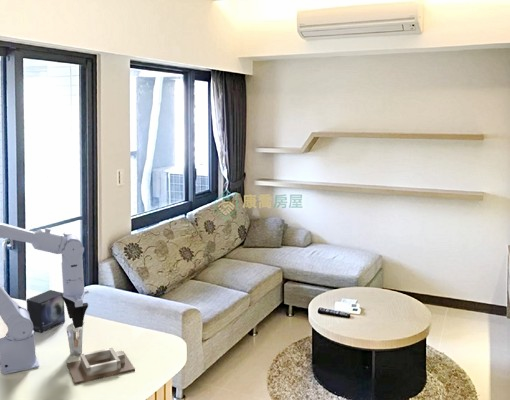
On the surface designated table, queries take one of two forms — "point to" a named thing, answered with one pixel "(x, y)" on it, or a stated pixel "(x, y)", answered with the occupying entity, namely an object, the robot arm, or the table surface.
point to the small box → (46, 310)
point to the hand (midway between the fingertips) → (75, 322)
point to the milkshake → (75, 339)
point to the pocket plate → (99, 365)
